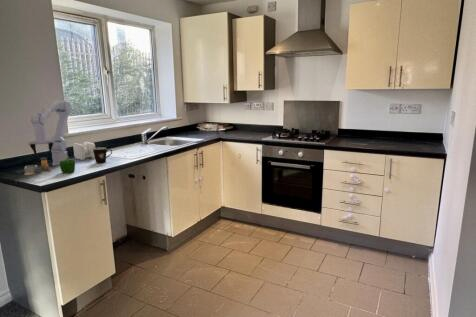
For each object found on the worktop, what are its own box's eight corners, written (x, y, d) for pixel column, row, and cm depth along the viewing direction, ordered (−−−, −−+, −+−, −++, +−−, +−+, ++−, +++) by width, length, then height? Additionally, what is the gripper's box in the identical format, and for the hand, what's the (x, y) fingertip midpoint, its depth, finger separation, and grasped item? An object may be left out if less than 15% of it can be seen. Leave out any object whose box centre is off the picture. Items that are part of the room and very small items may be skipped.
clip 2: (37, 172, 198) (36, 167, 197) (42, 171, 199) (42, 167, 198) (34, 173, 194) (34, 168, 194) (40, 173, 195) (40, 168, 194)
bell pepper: (69, 175, 192) (67, 159, 190) (57, 174, 194) (55, 158, 192) (79, 172, 200) (77, 156, 198) (68, 171, 202) (66, 155, 200)
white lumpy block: (73, 158, 239) (71, 142, 236) (87, 155, 247) (86, 141, 244) (83, 161, 229) (81, 145, 227) (97, 158, 237) (95, 143, 235)
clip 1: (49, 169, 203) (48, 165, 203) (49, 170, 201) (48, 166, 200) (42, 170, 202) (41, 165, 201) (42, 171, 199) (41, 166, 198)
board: (51, 167, 210) (51, 166, 210) (51, 173, 197) (51, 172, 197) (26, 170, 204) (26, 169, 204) (24, 176, 191) (24, 175, 191)
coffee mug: (92, 164, 220) (91, 149, 218) (96, 161, 229) (94, 147, 227) (110, 163, 222) (109, 149, 220) (113, 160, 231) (112, 147, 228)
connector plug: (48, 167, 208) (46, 157, 206) (48, 169, 205) (46, 158, 203) (42, 168, 206) (40, 157, 205) (42, 169, 203) (40, 158, 202)
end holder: (37, 169, 204) (37, 164, 203) (37, 171, 198) (36, 167, 198) (25, 170, 201) (25, 166, 200) (25, 173, 195) (24, 168, 195)
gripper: (26, 135, 194) (29, 157, 197) (53, 134, 201) (56, 155, 204) (27, 134, 200) (30, 155, 203) (53, 132, 207) (56, 153, 210)
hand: (43, 155), depth 204 cm, fingers open, 7 cm apart
